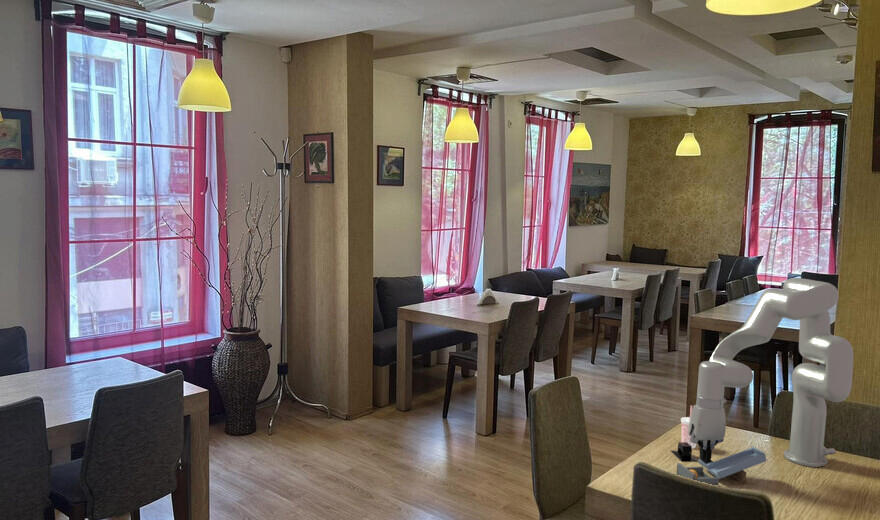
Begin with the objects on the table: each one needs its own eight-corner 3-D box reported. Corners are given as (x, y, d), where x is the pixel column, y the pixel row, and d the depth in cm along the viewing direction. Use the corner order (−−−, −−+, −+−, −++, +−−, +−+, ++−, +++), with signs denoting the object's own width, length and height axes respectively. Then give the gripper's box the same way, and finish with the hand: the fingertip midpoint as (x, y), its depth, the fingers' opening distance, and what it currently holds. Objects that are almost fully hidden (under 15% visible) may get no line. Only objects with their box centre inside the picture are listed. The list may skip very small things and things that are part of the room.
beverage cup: (677, 441, 232) (680, 402, 230) (695, 443, 231) (698, 403, 229) (681, 448, 226) (683, 407, 224) (700, 449, 225) (703, 409, 223)
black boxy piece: (703, 465, 213) (704, 451, 212) (680, 465, 212) (681, 451, 212) (686, 450, 225) (687, 437, 225) (665, 450, 225) (666, 437, 224)
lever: (742, 447, 211) (740, 439, 210) (766, 461, 200) (765, 453, 199) (697, 463, 208) (695, 455, 208) (719, 478, 197) (717, 470, 197)
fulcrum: (737, 473, 206) (737, 462, 205) (752, 483, 199) (753, 471, 198) (719, 474, 204) (720, 463, 204) (734, 484, 197) (735, 472, 197)
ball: (695, 470, 200) (687, 465, 200) (702, 475, 197) (694, 470, 197) (690, 479, 200) (682, 474, 200) (696, 484, 197) (688, 479, 197)
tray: (701, 474, 204) (702, 462, 204) (718, 486, 196) (719, 473, 195) (676, 476, 202) (677, 463, 202) (692, 488, 194) (693, 474, 194)
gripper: (724, 398, 210) (719, 455, 211) (680, 399, 207) (676, 457, 208) (739, 405, 202) (734, 464, 204) (694, 407, 199) (689, 466, 201)
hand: (705, 460), depth 206 cm, fingers closed
